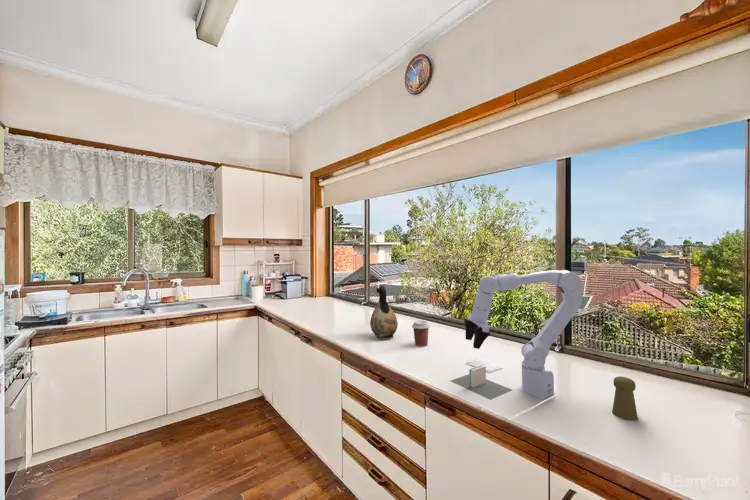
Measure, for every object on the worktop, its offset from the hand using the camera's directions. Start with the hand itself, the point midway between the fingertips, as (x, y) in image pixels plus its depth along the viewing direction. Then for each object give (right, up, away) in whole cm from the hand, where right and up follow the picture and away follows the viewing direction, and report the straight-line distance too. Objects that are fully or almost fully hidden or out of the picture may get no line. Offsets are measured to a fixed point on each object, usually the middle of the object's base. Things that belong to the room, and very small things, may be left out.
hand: (472, 343), depth 116 cm
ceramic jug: (-30, -15, +62) cm, 70 cm away
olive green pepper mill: (+38, -15, -22) cm, 47 cm away
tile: (+2, -15, -1) cm, 15 cm away
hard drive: (+10, -16, +16) cm, 24 cm away
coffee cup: (-12, -15, +47) cm, 51 cm away
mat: (+2, -15, -2) cm, 15 cm away
